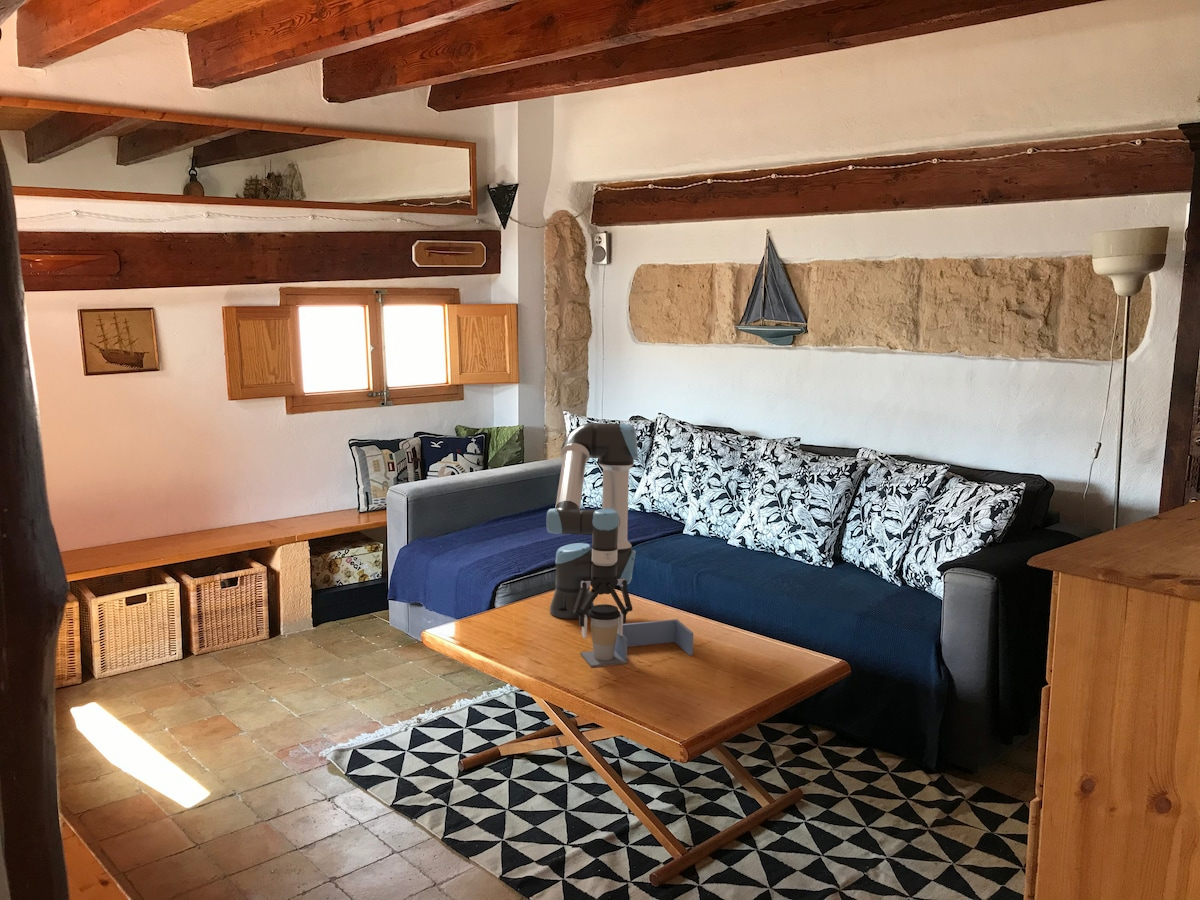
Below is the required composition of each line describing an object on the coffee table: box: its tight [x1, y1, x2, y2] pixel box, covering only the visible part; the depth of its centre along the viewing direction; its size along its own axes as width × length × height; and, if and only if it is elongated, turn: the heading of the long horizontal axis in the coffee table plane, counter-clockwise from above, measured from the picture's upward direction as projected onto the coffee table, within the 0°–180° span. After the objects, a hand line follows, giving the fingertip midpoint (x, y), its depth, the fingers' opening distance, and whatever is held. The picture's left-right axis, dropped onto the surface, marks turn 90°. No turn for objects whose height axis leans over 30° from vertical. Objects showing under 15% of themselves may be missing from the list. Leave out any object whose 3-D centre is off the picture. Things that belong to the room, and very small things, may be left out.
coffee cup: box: [588, 603, 621, 660], centre depth 293 cm, size 9×9×15 cm
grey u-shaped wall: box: [615, 618, 694, 662], centre depth 301 cm, size 13×22×7 cm, turn 108°
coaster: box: [579, 650, 628, 668], centre depth 295 cm, size 11×11×1 cm
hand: (602, 635), depth 293 cm, fingers open, 10 cm apart
